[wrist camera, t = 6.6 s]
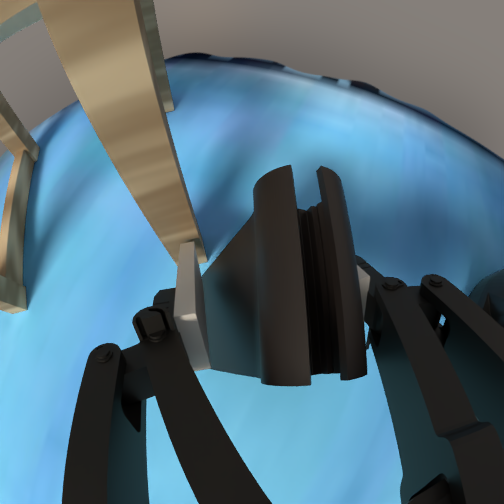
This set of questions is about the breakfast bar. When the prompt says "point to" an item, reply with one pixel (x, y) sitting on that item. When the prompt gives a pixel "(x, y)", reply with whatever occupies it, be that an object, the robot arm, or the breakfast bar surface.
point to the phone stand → (288, 289)
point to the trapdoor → (20, 21)
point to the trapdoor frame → (103, 122)
